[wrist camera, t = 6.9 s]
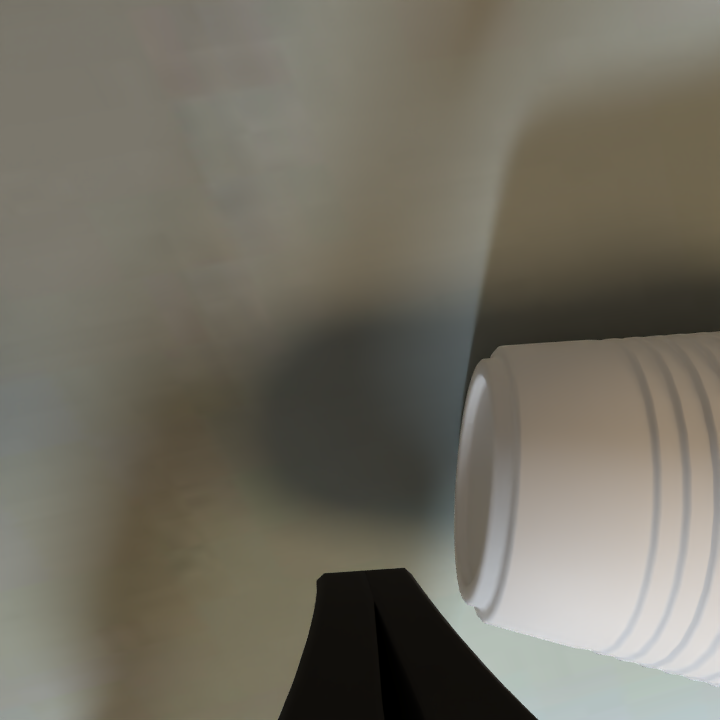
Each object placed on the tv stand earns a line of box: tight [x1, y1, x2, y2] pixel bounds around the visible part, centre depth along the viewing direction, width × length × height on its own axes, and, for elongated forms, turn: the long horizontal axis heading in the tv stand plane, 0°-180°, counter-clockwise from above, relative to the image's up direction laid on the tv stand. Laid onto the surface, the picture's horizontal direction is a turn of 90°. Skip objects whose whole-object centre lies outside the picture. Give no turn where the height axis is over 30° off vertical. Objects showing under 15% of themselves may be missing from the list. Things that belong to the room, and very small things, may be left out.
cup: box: [454, 331, 720, 687], centre depth 15 cm, size 10×10×11 cm
